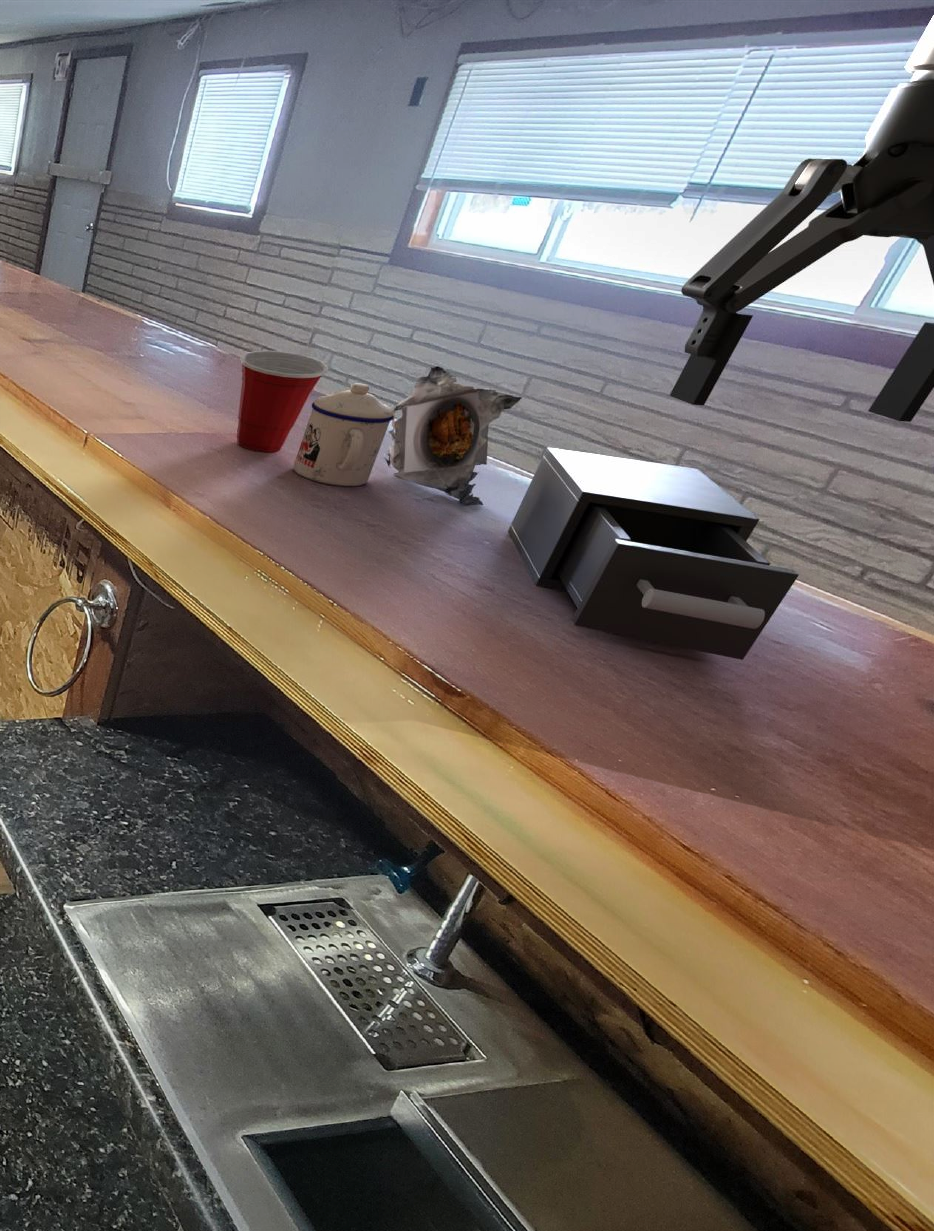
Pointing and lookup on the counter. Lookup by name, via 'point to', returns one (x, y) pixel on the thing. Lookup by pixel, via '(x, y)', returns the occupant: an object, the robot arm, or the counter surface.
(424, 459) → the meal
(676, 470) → the small drawer cabinet
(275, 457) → the counter surface
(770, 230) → the robot arm
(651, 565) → the open drawer unit
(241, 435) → the plastic cup
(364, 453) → the teacup with lid
